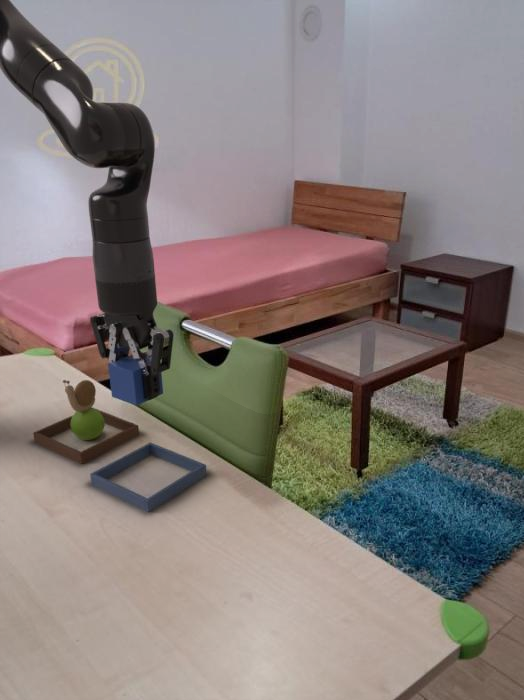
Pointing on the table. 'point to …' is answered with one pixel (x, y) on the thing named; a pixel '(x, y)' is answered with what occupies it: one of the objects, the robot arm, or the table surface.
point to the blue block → (128, 380)
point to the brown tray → (81, 457)
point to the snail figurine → (84, 410)
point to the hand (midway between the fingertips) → (137, 392)
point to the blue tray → (149, 449)
